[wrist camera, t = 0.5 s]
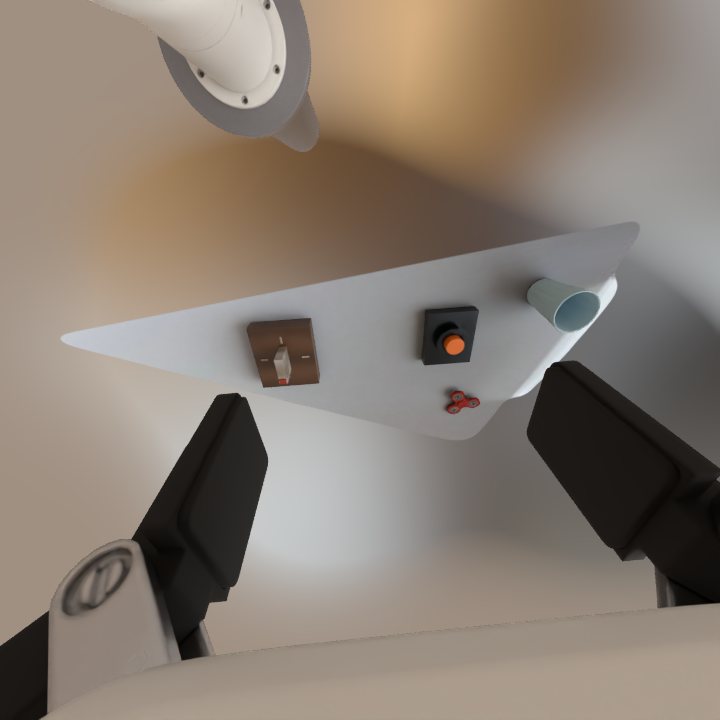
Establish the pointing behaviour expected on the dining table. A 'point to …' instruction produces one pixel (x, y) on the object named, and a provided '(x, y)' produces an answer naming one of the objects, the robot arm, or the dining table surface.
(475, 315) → the button block
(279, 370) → the red-tipped white slab
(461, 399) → the fidget spinner
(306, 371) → the panel
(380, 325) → the dining table surface
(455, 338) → the button
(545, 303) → the cup
